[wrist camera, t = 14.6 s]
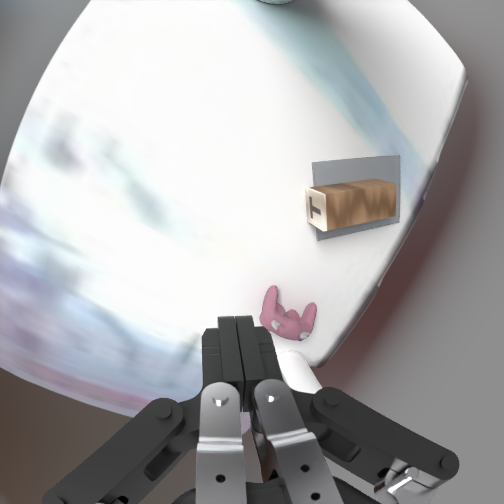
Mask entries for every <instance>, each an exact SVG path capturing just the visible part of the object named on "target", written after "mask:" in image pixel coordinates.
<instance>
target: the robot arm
mask: <svg viewBox="0 0 504 504" xmlns="http://www.w3.org/2000/svg"><path fill="white" fill-rule="evenodd" d="M260 1H262V2H266V3H271V4H284V3H288V2H290V1H292V0H260ZM202 368H203V387H202V389H201V391H200V393H199V394H198V395H197V396H195V397H194V398H192V399H190V400H187V401H183V402H180V403H177V402H176V401H174V400H172V399H169V398H159V399H155V400H153V401H152V402H150V403H149V404H148V405H147V406H146V407H145V408H144V409H143V410H141V411H140V412H139V413H138V414H137V415H136V416H135V417H134V418H133V419H131V420H130V421H129V422H128V423H127V424H126V425H125V426H124V427H123V428H122V429H120V430H119V431H118V432H117V433H116V434H115V435H114V436H112V437H111V438H110V439H109V440H108V441H107V442H106V443H104V444H103V445H102V446H101V447H100V448H99V449H98V450H96V451H95V452H94V453H93V454H92V455H91V456H90V457H88V458H87V459H86V460H85V461H84V462H82V463H81V464H80V465H79V466H78V467H77V468H75V469H74V470H73V471H72V472H70V473H69V474H68V475H67V476H66V477H64V478H63V479H62V480H61V481H59V483H57V484H56V485H55V486H53V487H52V488H51V489H50V490H48V491H47V492H46V493H45V495H44V496H43V499H42V504H138V503H139V502H140V501H141V500H142V499H143V498H144V497H145V496H146V495H147V494H148V493H149V492H150V491H151V490H152V489H153V488H154V487H155V486H156V485H157V484H158V483H159V482H160V481H161V480H162V479H163V478H164V477H165V476H166V475H167V474H168V473H169V472H170V471H171V470H172V469H173V467H175V466H176V465H177V463H178V462H179V461H180V460H181V459H182V458H183V457H184V456H185V455H186V454H187V453H188V451H189V450H191V449H194V448H197V465H196V488H194V489H191V490H189V491H187V492H185V493H184V494H182V495H181V496H179V497H178V498H177V499H176V500H175V501H174V502H173V503H172V504H381V503H379V502H378V501H376V500H374V499H372V498H371V497H369V496H367V495H366V494H364V493H362V492H361V491H359V490H358V489H356V488H354V487H353V486H351V485H349V484H348V483H346V482H345V481H343V480H341V479H339V478H337V477H334V476H332V475H331V472H330V470H329V467H328V465H327V463H326V460H325V458H324V456H325V457H327V458H329V459H330V460H332V461H333V462H335V463H337V464H338V465H340V466H341V467H343V468H345V469H346V470H348V471H350V472H351V473H353V474H355V475H356V476H358V477H360V478H362V479H364V480H365V481H367V482H369V483H371V484H372V485H374V494H375V497H376V498H377V499H378V500H379V501H381V502H382V503H383V504H430V502H431V501H432V498H433V497H434V495H435V493H436V491H437V489H438V487H439V486H440V485H442V484H443V483H445V482H447V481H448V480H450V479H451V478H453V477H454V476H455V475H456V474H457V472H458V469H459V460H458V457H457V456H456V454H455V453H453V452H452V451H450V450H448V449H446V448H444V447H442V446H440V445H438V444H436V443H434V442H432V441H430V440H428V439H426V438H424V437H422V436H420V435H418V434H416V433H415V432H413V431H411V430H409V429H407V428H405V427H403V426H401V425H400V424H398V423H396V422H394V421H392V420H391V419H389V418H387V417H385V416H383V415H381V414H380V413H378V412H376V411H375V410H373V409H371V408H369V407H368V406H366V405H364V404H362V403H361V402H359V401H357V400H355V399H354V398H352V397H350V396H349V395H347V394H346V393H344V392H342V391H341V390H339V389H336V388H333V387H325V388H322V389H320V390H318V391H317V392H316V393H315V394H313V393H305V392H299V391H296V390H294V389H292V388H290V387H289V386H288V385H287V384H286V383H285V381H284V379H283V376H282V373H281V369H280V366H279V362H278V358H277V355H276V352H275V347H274V345H273V340H272V337H271V334H270V333H269V331H268V330H267V329H266V328H265V327H264V326H261V327H254V322H253V318H252V316H235V318H234V316H224V317H218V328H210V329H206V330H205V332H204V334H203V336H202ZM242 407H243V412H249V413H250V419H251V421H250V429H251V433H252V437H253V440H254V444H255V448H256V451H257V455H258V459H259V462H260V467H261V476H262V481H263V483H251V482H245V470H244V469H245V468H244V453H243V452H244V451H243V443H242V436H241V417H240V412H242Z"/></svg>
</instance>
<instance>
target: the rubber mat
mask: <svg viewBox="0 0 504 504" xmlns="http://www.w3.org/2000/svg"><path fill="white" fill-rule="evenodd" d="M312 170H313V183H314V187H317V186H324V185H331V184H338V183H346V182H353V181H361V180H369V179H380V180H383V181H387V182H390V183H394V184H396V216H394V217H389V218H384V219H380V220H375V221H370V222H366V223H361V224H356V225H351V226H347V227H342V228H337V229H333V230H328V231H322V230H320V229H319V228H317V227H316V233H317V241H319V240H324V239H328V238H333V237H337V236H341V235H346V234H350V233H355V232H359V231H363V230H368V229H372V228H377V227H381V226H386V225H390V224H394V223H399V220H400V156H382V157H367V158H354V159H343V160H332V161H322V162H313V163H312Z"/></svg>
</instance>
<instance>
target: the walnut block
mask: <svg viewBox="0 0 504 504" xmlns="http://www.w3.org/2000/svg"><path fill="white" fill-rule="evenodd" d="M305 192H306V206H307V221H308V222H309V223H311V224H312V225H314V226H316V227H317V228H319V229H320V230H322V231H328V230H333V229H337V228H342V227H347V226H351V225H356V224H361V223H366V222H370V221H375V220H380V219H384V218H389V217H394V216H396V184H394V183H390V182H387V181H383V180H380V179H369V180H361V181H353V182H346V183H338V184H331V185H324V186H317V187H311V188H305Z"/></svg>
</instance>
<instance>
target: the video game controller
mask: <svg viewBox="0 0 504 504" xmlns="http://www.w3.org/2000/svg"><path fill="white" fill-rule="evenodd" d="M277 297H278V290H277V287H276V286H271V287H270V288H269V289H268V291H267V293H266V295H265V298H264V301H263V307H262V313H261V315H260V322H261V324H262V325H263V326H264V327H265V328H266V329H267V330H269V331H272V332H274V333H275V334H277V335H279V336H281V337H283V338H286V339H290V340H298V341H302V340H304V339H305V338H307V337H308V336H309V335H310V333H311V332H312V329H313V325H314V320H315V316H316V311H317V309H316V305H315V303H310V304H309V305H308V306H307V307H306V309H305V311H304V313H303V315H302V318H301V319H300V317H299V315H298V313H297V312H296V311H295V310H289V311H288V312H287V313H286V314H285V316H284V313H285V312H284V308H283V307H282V306H281V305H280V304H276V303H277Z"/></svg>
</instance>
